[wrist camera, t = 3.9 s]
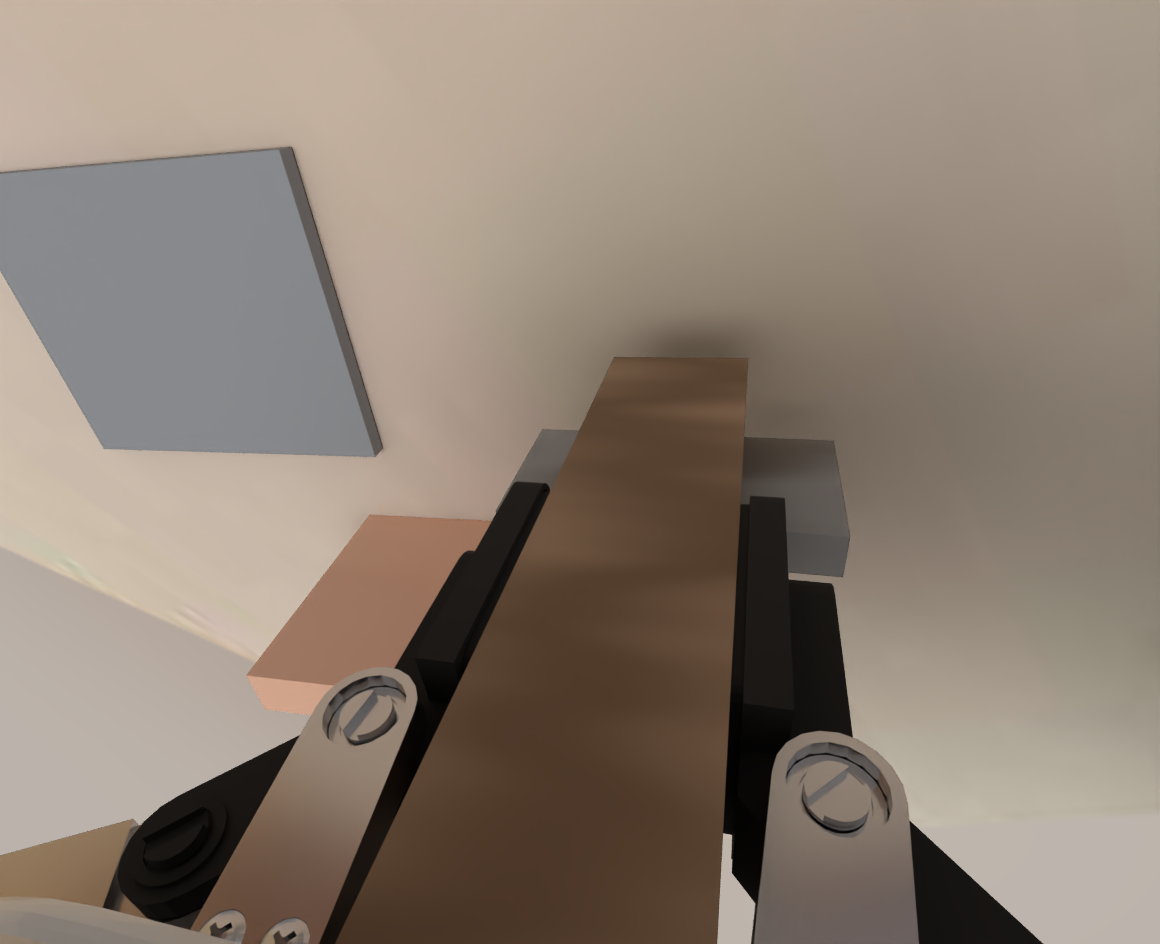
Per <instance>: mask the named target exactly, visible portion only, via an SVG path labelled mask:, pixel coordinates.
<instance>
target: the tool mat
mask: <svg viewBox="0 0 1160 944" xmlns="http://www.w3.org/2000/svg"><path fill="white" fill-rule="evenodd" d="M0 271H1V273H2V275H3V276H4V278H5V280H6V282H7V283H8V285H9V287H10V288H11V290H12V292H13V294H14V295H15V297H16V299H17V300H18V302H19V304H20V306H21V307H22V309H23V311H24V312H25V314H26V316H27V318H28V319H29V321H30V323H31V324H32V326H33V328H34V330H35V331H36V333H37V335H38V336H39V338H40V340H41V342H42V343H43V345H44V347H45V349H46V350H47V352H48V354H49V355H50V357H51V359H52V361H53V362H54V364H55V366H56V367H57V369H58V371H59V373H60V374H61V376H62V378H63V379H64V381H65V383H66V385H67V386H68V388H69V390H70V391H71V393H72V395H73V397H74V398H75V400H76V402H77V403H78V405H79V407H80V409H81V410H82V412H83V414H84V415H85V417H86V419H87V421H88V422H89V424H90V426H91V428H92V429H93V431H94V433H95V434H96V436H97V438H98V440H99V441H100V443H101V445H102V446H103V448H104V449H124V450H158V451H191V452H225V453H259V454H293V455H326V456H360V457H376V455H377V454H378V453H379V452H380V451H381V450H382V445H381V441H380V438H379V435H378V432H377V428H376V425H375V422H374V418H373V415H372V412H371V408H370V405H369V402H368V399H367V395H366V392H365V389H364V385H363V382H362V379H361V375H360V372H359V369H358V366H357V362H356V359H355V356H354V352H353V349H352V346H351V342H350V339H349V336H348V333H347V329H346V326H345V323H344V319H343V316H342V313H341V310H340V306H339V303H338V300H337V296H336V293H335V290H334V286H333V283H332V280H331V277H330V273H329V270H328V267H327V263H326V260H325V257H324V253H323V250H322V247H321V244H320V240H319V237H318V234H317V230H316V227H315V224H314V220H313V217H312V214H311V211H310V207H309V204H308V201H307V197H306V194H305V191H304V188H303V184H302V181H301V178H300V174H299V171H298V168H297V164H296V161H295V158H294V155H293V151H292V148H291V147H285V148H273V149H262V150H251V151H239V152H228V153H216V154H205V155H193V156H182V157H170V158H159V159H147V160H136V161H125V162H113V163H102V164H90V165H79V166H67V167H56V168H44V169H33V170H21V171H10V172H0Z"/></svg>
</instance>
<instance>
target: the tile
mask: <svg viewBox="0 0 1160 944" xmlns="http://www.w3.org/2000/svg"><path fill="white" fill-rule="evenodd" d="M491 522H492V521H481V520H461V519H442V518H422V517H403V516H383V515H369V517H368V518H367V519H366V520H365V522H364V523H363V524H362V526H361V527H360V528H359V530H358V531H357V532H356V533H355V535H354V536H353V537H352V539H351V540H350V541H349V543H348V544H347V545H346V546H345V548H344V549H343V550H342V552H341V553H340V554H339V556H338V557H337V558H336V559H335V561H334V562H333V563H332V565H331V566H330V567H329V569H328V570H327V571H326V572H325V574H324V575H323V576H322V578H321V579H320V580H319V582H318V583H317V584H316V585H315V587H314V588H313V589H312V591H311V592H310V593H309V595H308V596H307V597H306V598H305V600H304V601H303V602H302V604H301V605H300V606H299V608H298V609H297V610H296V611H295V613H294V614H293V615H292V617H291V618H290V619H289V621H288V622H287V623H286V624H285V626H284V627H283V628H282V630H281V631H280V632H279V634H278V635H277V636H276V637H275V639H274V640H273V641H272V643H271V644H270V645H269V647H268V648H267V649H266V650H265V652H264V653H263V654H262V656H261V657H260V658H259V660H258V661H257V662H256V663H255V665H254V666H253V667H252V669H251V670H250V672H249V673H248V674H247V675H246V676H247V678H248V679H249V681H250V683H251V685H252V687H253V688H254V690H255V692H256V694H257V695H258V697H259V699H260V701H261V702H262V704H263V706H264V708H265V709H267V710H275V711H283V712H291V713H298V714H306V715H312V713H313V711H314V709H315V707H316V706H317V704H318V703H319V702H320V700H321V699H322V698H323V696H324V695H325V694H326V692H327V691H329V690H330V689H331V688H332V687H333V686H334V685H336V684H337V683H338V682H339V681H341V680H342V679H344V678H346V677H348V676H350V675H351V674H353V673H356V672H359V671H362V670H365V669H368V668H376V667H389V668H395V666H396V664H397V662H398V661H399V659H400V657H401V656H402V654H403V652H404V651H405V649H406V647H407V646H408V644H409V642H410V640H411V639H412V637H413V635H414V634H415V632H416V630H417V629H418V627H419V625H420V624H421V622H422V620H423V618H424V617H425V615H426V613H427V612H428V610H429V608H430V607H431V605H432V603H433V601H434V600H435V598H436V596H437V595H438V593H439V591H440V590H441V588H442V586H443V585H444V583H445V581H446V579H447V578H448V576H449V574H450V573H451V571H452V569H453V568H454V566H455V564H456V562H457V561H458V559H459V558H460V557H461V555H462V554H463V553H464V552H466V551H468V550H470V551H475V550H476V548H477V546H478V545H479V543H480V541H481V539H482V538H483V536H484V534H485V532H486V531H487V529H488V527H489V525H490V524H491Z"/></svg>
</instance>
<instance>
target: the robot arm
mask: <svg viewBox="0 0 1160 944" xmlns="http://www.w3.org/2000/svg"><path fill="white" fill-rule="evenodd" d="M549 493H550V488H549V486H548V484H546V483H536V482H520V481H517V482H514V484H513V485H512V487H511V488H510V490H509V492H508V494H507V495H506V497H505V499H504V501H503V502H502V504H501V506H500V508H499V509H498V511H497V513H496V515H495V517H494V518H493V520H492V522H491V524H490V525H489V527H488V529H487V531H486V532H485V534H484V536H483V538H482V539H481V541H480V543H479V545H478V546H477V548H476V550H475V551H470V550H468V551H466V552H464V553H463V554H462V555H461V557H460V558H459V559H458V561H457V562H456V564H455V566H454V568H453V569H452V571H451V573H450V574H449V576H448V578H447V579H446V581H445V583H444V585H443V586H442V588H441V590H440V591H439V593H438V595H437V596H436V598H435V600H434V601H433V603H432V605H431V607H430V608H429V610H428V612H427V613H426V615H425V617H424V618H423V620H422V622H421V624H420V625H419V627H418V629H417V630H416V632H415V634H414V635H413V637H412V639H411V640H410V642H409V644H408V646H407V647H406V649H405V651H404V652H403V654H402V656H401V657H400V659H399V661H398V662H397V664H396V666H395V668H389V667H376V668H368V669H365V670H362V671H359V672H356V673H353V674H351V675H350V676H348V677H346V678H344V679H342V680H341V681H339V682H338V683H337V684H336V685H334V686H333V687H332V688H331V689H330V690H329V691H327V692H326V694H325V695H324V696H323V698H322V699H321V700H320V702H319V703H318V704H317V706H316V707H315V709H314V711H313V713H312V715H311V717H310V718H309V720H308V722H307V723H306V725H305V727H304V729H303V731H302V732H301V734H300V735H299V736H297V737H295V738H293V739H291V740H289V741H287V742H285V743H283V744H281V745H279V746H277V747H275V748H273V749H271V750H269V751H267V752H265V753H263V754H261V755H259V756H257V757H255V758H253V759H252V760H249V761H247V762H245V763H243V764H241V765H239V766H237V767H235V768H233V769H231V770H229V771H227V772H225V773H223V774H222V775H219V776H217V777H215V778H213V779H211V780H209V781H207V782H205V783H203V784H201V785H199V786H197V787H195V788H193V789H191V790H189V791H187V792H185V793H183V794H181V795H179V796H178V797H176V798H174V799H173V800H171V801H170V802H168V803H166V804H165V805H163V806H161V807H160V808H159V809H158V810H157V811H156V812H154V813H153V814H152V815H151V816H150V817H149V818H148V819H146V820H145V821H144V823H143V824H142V825H138V823H136V821H135V820H134V819H131V820H127V821H123V822H120V823H116V824H113V825H109V826H105V827H101V828H98V829H94V830H91V831H87V832H84V833H80V834H76V835H73V836H69V837H65V838H62V839H58V840H55V841H51V842H48V843H44V844H40V845H36V846H33V847H29V848H26V849H22V850H19V851H15V852H11V853H8V854H4V855H0V944H335V943H336V941H337V938H338V936H339V934H340V932H341V930H342V928H343V926H344V924H345V922H346V920H347V917H348V915H349V913H350V911H351V909H352V907H353V905H354V903H355V901H356V899H357V896H358V894H359V892H360V890H361V888H362V886H363V884H364V882H365V880H366V878H367V875H368V873H369V871H370V869H371V867H372V865H373V863H374V861H375V859H376V857H377V854H378V852H379V850H380V848H381V846H382V844H383V842H384V840H385V838H386V836H387V833H388V831H389V829H390V827H391V825H392V823H393V821H394V819H395V817H396V815H397V812H398V810H399V808H400V806H401V804H402V802H403V800H404V798H405V796H406V794H407V791H408V789H409V787H410V785H411V783H412V781H413V779H414V777H415V775H416V773H417V770H418V768H419V766H420V764H421V762H422V760H423V758H424V756H425V754H426V752H427V749H428V747H429V745H430V743H431V741H432V739H433V737H434V735H435V733H436V731H437V728H438V726H439V724H440V722H441V720H442V718H443V716H444V714H445V712H446V710H447V707H448V705H449V703H450V701H451V699H452V697H453V695H454V693H455V691H456V689H457V686H458V684H459V682H460V680H461V678H462V676H463V674H464V672H465V670H466V668H467V665H468V663H469V661H470V659H471V657H472V655H473V653H474V651H475V649H476V646H477V644H478V642H479V640H480V638H481V636H482V634H483V632H484V630H485V628H486V625H487V623H488V621H489V619H490V617H491V615H492V613H493V611H494V609H495V607H496V604H497V602H498V600H499V598H500V596H501V594H502V592H503V590H504V588H505V586H506V583H507V581H508V579H509V577H510V575H511V573H512V571H513V569H514V567H515V565H516V562H517V560H518V558H519V556H520V554H521V552H522V550H523V548H524V546H525V544H526V541H527V539H528V537H529V535H530V533H531V531H532V529H533V527H534V525H535V523H536V520H537V518H538V516H539V514H540V512H541V510H542V508H543V506H544V504H545V502H546V499H547V497H548V495H549ZM723 833H725V834H730V835H732V856H731V858H732V859H733V860H732V874H733V875H734V876H735V878H736V879H737V880H738V881H739V883H740V884H741V885H742V886H743V888H744V889H745V890H746V892H747V893H748V894H749V896H750V897H751V898H752V899H753V901H754V902H755V912H754V920H753V930H752V939H751V944H1043V943H1042V942H1041V941H1039V940H1038V939H1037V938H1036V937H1035V936H1034V935H1033V934H1032V933H1031V932H1030V931H1029V930H1028V929H1026V928H1025V927H1024V926H1023V925H1022V924H1021V923H1020V922H1019V921H1018V920H1017V919H1016V918H1014V917H1013V916H1012V915H1011V914H1010V913H1009V912H1008V911H1007V910H1006V909H1005V908H1004V907H1003V906H1001V905H1000V904H999V903H998V902H997V901H996V900H995V899H994V898H993V897H992V896H990V895H989V894H988V893H987V892H986V891H985V890H984V889H983V888H982V887H981V886H980V885H979V884H978V883H976V882H975V881H974V880H973V879H972V878H971V877H970V876H969V875H968V874H967V873H966V872H965V871H964V870H962V869H961V868H960V867H959V866H958V865H957V864H956V863H955V862H954V861H953V860H952V859H951V858H949V857H948V856H947V855H946V854H945V853H944V852H943V851H942V850H941V849H940V848H939V847H938V846H936V845H935V844H934V843H933V842H932V841H931V840H930V839H929V838H927V836H926V835H925V834H923V833H922V832H921V831H920V830H919V829H918V828H917V827H916V826H915V825H914V824H913V823H912V822H910V821H909V810H908V802H907V798H906V795H905V791H904V787H903V784H902V782H901V781H900V779H899V777H898V776H897V774H896V772H895V771H894V769H893V767H892V766H891V765H890V764H889V763H888V762H887V761H886V760H885V759H884V758H883V757H882V756H881V755H880V754H879V753H878V752H877V751H876V750H874V749H872V748H871V747H869V746H868V745H866V744H864V743H863V742H861V741H860V740H858V739H855V738H853V735H852V727H851V719H850V711H849V703H848V695H847V687H846V679H845V671H844V663H843V655H842V647H841V639H840V631H839V623H838V615H837V607H836V599H835V592H834V587H833V585H832V584H830V583H820V582H809V581H798V580H789V579H788V556H787V532H786V508H785V498H781V497H765V496H750V503H749V504H740V522H739V541H738V560H737V578H736V597H735V616H734V635H733V654H732V672H731V691H730V710H729V729H728V748H727V767H726V785H725V804H724V823H723Z"/></svg>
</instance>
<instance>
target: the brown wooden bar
mask: <svg viewBox="0 0 1160 944" xmlns="http://www.w3.org/2000/svg"><path fill="white" fill-rule="evenodd" d="M747 372H748V358H653V357H614V359H613V361H612V363H611V365H610V367H609V369H608V371H607V373H606V376H605V378H604V380H603V382H602V384H601V386H600V388H599V390H598V392H597V394H596V397H595V399H594V401H593V403H592V405H591V407H590V409H589V411H588V413H587V415H586V418H585V420H584V422H583V424H582V426H581V428H580V430H579V431H574V430H549V429H542V431H541V433H540V434H539V436H538V438H537V440H536V441H535V443H534V445H533V447H532V448H531V450H530V452H529V454H528V455H527V457H526V459H525V461H524V462H523V464H522V466H521V468H520V469H519V471H518V473H517V475H516V476H515V478H514V480H513V482H512V483H511V485H510V487H509V489H508V490H507V492H506V494H505V496H504V497H503V499H502V501H501V503H500V504H499V506H498V508H497V510H496V513H497V511H498V509H499V508H500V506H501V504H502V502H503V501H504V499H505V497H506V495H507V494H508V492H509V490H510V488H511V487H512V485H513V484H514V482H517V481H520V482H536V483H546V484H548V486H549V488H550V493H549V495H548V497H547V499H546V502H545V504H544V506H543V508H542V510H541V512H540V514H539V516H538V518H537V520H536V523H535V525H534V527H533V529H532V531H531V533H530V535H529V537H528V539H527V541H526V544H525V546H524V548H523V550H522V552H521V554H520V556H519V558H518V560H517V562H516V565H515V567H514V569H513V571H512V573H511V575H510V577H509V579H508V581H507V583H506V586H505V588H504V590H503V592H502V594H501V596H500V598H499V600H498V602H497V604H496V607H495V609H494V611H493V613H492V615H491V617H490V619H489V621H488V623H487V625H486V628H485V630H484V632H483V634H482V636H481V638H480V640H479V642H478V644H477V646H476V649H475V651H474V653H473V655H472V657H471V659H470V661H469V663H468V665H467V668H466V670H465V672H464V674H463V676H462V678H461V680H460V682H459V684H458V686H457V689H456V691H455V693H454V695H453V697H452V699H451V701H450V703H449V705H448V707H447V710H446V712H445V714H444V716H443V718H442V720H441V722H440V724H439V726H438V728H437V731H436V733H435V735H434V737H433V739H432V741H431V743H430V745H429V747H428V749H427V752H426V754H425V756H424V758H423V760H422V762H421V764H420V766H419V768H418V770H417V773H416V775H415V777H414V779H413V781H412V783H411V785H410V787H409V789H408V791H407V794H406V796H405V798H404V800H403V802H402V804H401V806H400V808H399V810H398V812H397V815H396V817H395V819H394V821H393V823H392V825H391V827H390V829H389V831H388V833H387V836H386V838H385V840H384V842H383V844H382V846H381V848H380V850H379V852H378V854H377V857H376V859H375V861H374V863H373V865H372V867H371V869H370V871H369V873H368V875H367V878H366V880H365V882H364V884H363V886H362V888H361V890H360V892H359V894H358V896H357V899H356V901H355V903H354V905H353V907H352V909H351V911H350V913H349V915H348V917H347V920H346V922H345V924H344V926H343V928H342V930H341V932H340V934H339V936H338V938H337V941H336V943H335V944H717V935H718V917H719V916H718V915H719V898H720V897H719V896H720V879H721V860H722V842H723V823H724V804H725V785H726V767H727V748H728V729H729V710H730V691H731V672H732V654H733V635H734V616H735V597H736V578H737V560H738V541H739V522H740V504H749V503H750V496H765V497H781V498H785V508H786V532H787V556H788V572H790V573H801V574H812V575H824V576H835V577H843V574H844V569H845V563H846V558H847V552H848V547H849V541H850V533H849V527H848V521H847V515H846V509H845V503H844V498H843V492H842V486H841V480H840V474H839V468H838V463H837V457H836V451H835V445H834V441H828V440H803V439H777V438H752V437H744V428H745V409H746V390H747Z"/></svg>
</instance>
